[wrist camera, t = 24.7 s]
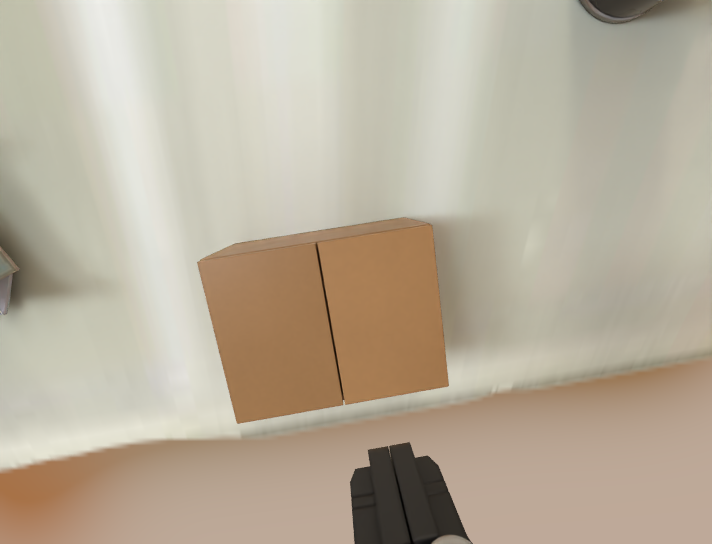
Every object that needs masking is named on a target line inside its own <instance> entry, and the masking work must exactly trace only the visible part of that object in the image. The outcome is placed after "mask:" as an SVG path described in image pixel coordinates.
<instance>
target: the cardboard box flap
mask: <svg viewBox="0 0 712 544" xmlns="http://www.w3.org/2000/svg"><path fill="white" fill-rule="evenodd" d="M318 250H319V255H320V261H321V267H322V273H323V279H324V284H325V290H326V296H327V302H328V308H329V313H330V319H331V325H332V331H333V337H334V342H335V348H336V354H337V360H338V366H339V371H340V377H341V383H342V389H343V395H344V400H345V405H347V404H352V403H358V402H363V401H369V400H375V399H380V398H386V397H391V396H397V395H403V394H408V393H414V392H419V391H425V390H431V389H436V388H442V387H448V386H449V383H448V374H447V364H446V354H445V344H444V335H443V325H442V315H441V306H440V296H439V286H438V276H437V267H436V257H435V247H434V238H433V228H432V225H426V226H420V227H414V228H407V229H401V230H395V231H388V232H382V233H376V234H369V235H363V236H356V237H350V238H344V239H337V240H331V241H325V242H318Z"/></svg>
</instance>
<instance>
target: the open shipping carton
mask: <svg viewBox="0 0 712 544" xmlns="http://www.w3.org/2000/svg"><path fill="white" fill-rule="evenodd" d="M426 225H430V224H429V223H425V222H420V221H416V220H412V219H408V218H404V217H403V218H397V219H390V220H384V221H377V222H371V223H364V224H358V225H352V226H345V227H339V228H332V229H326V230H319V231H313V232H307V233H300V234H294V235H287V236H281V237H274V238H268V239H262V240H255V241H249V242H242V243H236V244H233V245H231V246H229V247H226V248H224V249H222V250H220V251H218V252H216V253H214V254H211V255H209V256H207V257H205V258H203V259H201V260H200V261H199V262H197V264H198V268H199V272H200V276H201V280H202V284H203V288H204V292H205V296H206V300H207V304H208V308H209V312H210V316H211V320H212V324H213V328H214V332H215V336H216V340H217V345H218V349H219V353H220V357H221V361H222V365H223V369H224V373H225V377H226V381H227V385H228V389H229V393H230V397H231V401H232V405H233V409H234V413H235V417H236V421H237V424H239V423H244V422H250V421H256V420H261V419H267V418H273V417H278V416H284V415H290V414H295V413H301V412H306V411H312V410H318V409H323V408H329V407H335V406H340V405H343V400H344V395H343V389H342V383H341V377H340V371H339V366H338V360H337V354H336V348H335V342H334V337H333V331H332V325H331V319H330V313H329V308H328V302H327V296H326V290H325V284H324V279H323V273H322V267H321V261H320V255H319V250H318V242H325V241H331V240H337V239H344V238H350V237H356V236H363V235H369V234H376V233H382V232H388V231H395V230H401V229H407V228H414V227H420V226H426Z"/></svg>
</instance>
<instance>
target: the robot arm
mask: <svg viewBox="0 0 712 544" xmlns="http://www.w3.org/2000/svg"><path fill="white" fill-rule="evenodd" d="M662 1H663V0H580V2H581V4H582V5H583V6H584V8H585V9H586V10H587V11H588V12H589V13H590V14H591V15H593V16H594V17H596V18H598V19H600V20H602V21H605V22H609V23H622V22H627V21H630V20H633V19H635V18H637V17H639V16H641V15H642V14H644V13H646V12H647V11H649V10H650V9H651V8H652V7H654V6H655V5H657V4H658V3H660V2H662ZM389 447H390V453H389V449H388V446H387V447H381V448H376V449H370V450H368V454H369V461H370V467H364V468H358V469H355V471H354V474H353V477H352V479H351V481H350V486H351V497H352V514H353V528H354V541H355V544H473V543H472V542H471V541H470V540H469V538H468V536H467V534H466V532H465V530H464V527H463V525H462V523H461V520H460V518H459V515H458V513H457V510H456V508H455V506H454V503H453V500H452V498H451V496H450V493H449V492H448V488H447V486H446V483H445V481H444V479H443V476H442V474H441V471H440V469H439V466H438V465H437V464H436V463H435V462H434V461H433V460H432V459H431V458H430V457H429V456H423V457H418V458H415V457H414V454H413V451H412V448H411V445H410V443H409V442H408V443H403V444H397V445H392V446H389ZM390 455H391V457H390Z"/></svg>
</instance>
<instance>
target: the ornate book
mask: <svg viewBox="0 0 712 544" xmlns="http://www.w3.org/2000/svg"><path fill="white" fill-rule="evenodd" d="M18 270H20V269H19V268H18V267H17V265H16V264H15V263H14V262H13V260H12V259H11V258H10V257H9V256H8V255H7V254H6V252H5V251H4V250H3V249H2V248H1V247H0V311H1V312H2V314H1V313H0V315H5V314H7V311H8V306H9V301H10V294H11V285H12V277H13V275H12V274H13V273H15V272H16V271H18Z"/></svg>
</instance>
